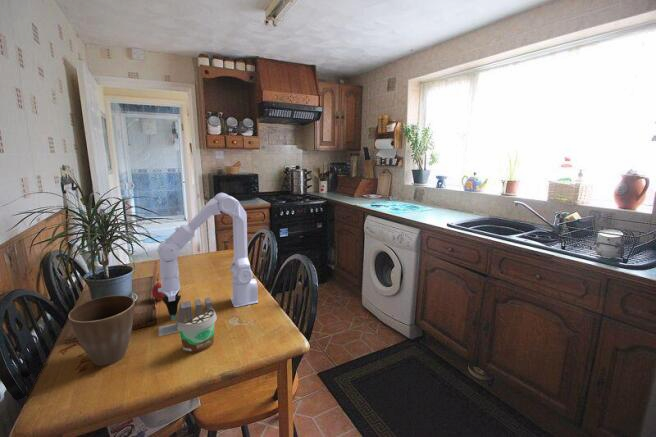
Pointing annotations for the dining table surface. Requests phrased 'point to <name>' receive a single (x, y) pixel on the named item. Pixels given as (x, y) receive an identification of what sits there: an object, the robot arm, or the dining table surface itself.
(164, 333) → the coaster
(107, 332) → the plant pot
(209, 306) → the domino
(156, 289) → the onion
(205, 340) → the food container
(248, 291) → the robot arm
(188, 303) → the domino
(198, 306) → the domino
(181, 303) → the domino
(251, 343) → the dining table surface
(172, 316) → the domino
